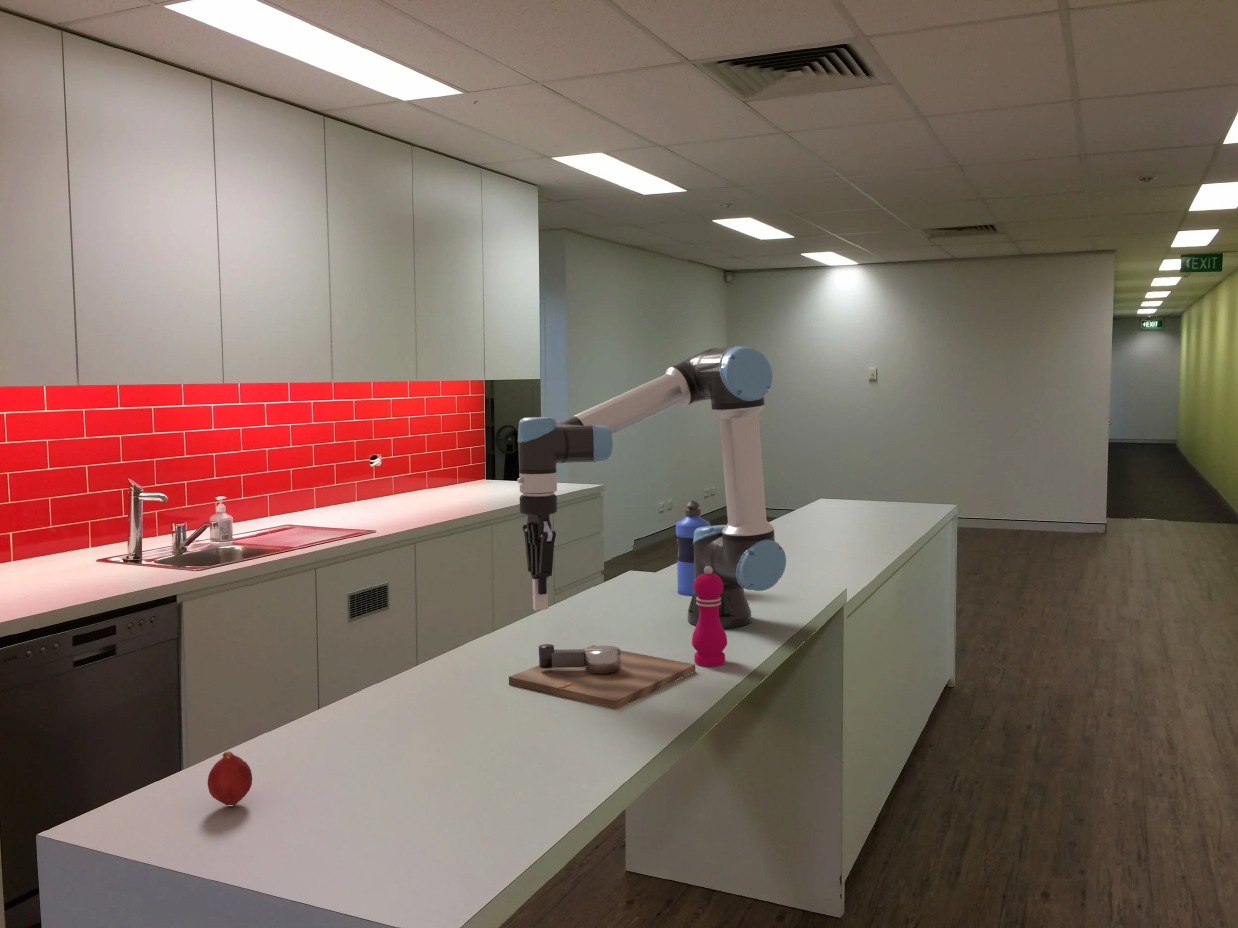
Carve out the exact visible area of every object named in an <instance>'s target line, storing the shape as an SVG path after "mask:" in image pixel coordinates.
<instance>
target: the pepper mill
mask: <svg viewBox="0 0 1238 928" xmlns="http://www.w3.org/2000/svg"><path fill="white" fill-rule="evenodd" d="M712 571H713V570H712V567H710V566H706V567H705V568H704V573H705V574H701V575H699V576H698V577H697V578H696V580H695V582H694V591H695V593H696V594H697V595H698V597H697V598H696V599H697V605H699V620H698V623H697V625H695V628H694V631H693V633H692V637H691V638H692V639H691V645H692V647H693V649H694V650H695V651H696V652H695V653H694V654H693V655H694V656H693V657H694V659H693V660H694V664H695V663H696V664H695V665H697V666H700V667H706V666H709V668H712V666H714V667H720V666H722V665H724V664H725V663H726V654H725V652H723V651H724V650H725V649H726V648H727V645H728V638H727V634H726V631H725V628H723V627H722V624H721V622H720V619H719V605H720V604H721V602H720V600H721V597H719V595H720V594H721V593H722V591H723V582H722V580H721V578H720V577H719V576H717V575H716V574H712Z"/></svg>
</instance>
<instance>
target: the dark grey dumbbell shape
mask: <svg viewBox="0 0 1238 928" xmlns="http://www.w3.org/2000/svg"><path fill="white" fill-rule="evenodd" d="M589 647H590V646H589ZM586 648H587V647H586ZM620 650H621V648H620V647H618V646H613V645H594V647H590V648H587V649H584V648H581V649H580V648H579V649H577V648H576V649H555V645H553V643H552V644H550V643H545V644H540V645H539V646H538V666H539V667H540V668H545V669H547V668H566V667H585V670H586V671H588V672H591V673H612V672H616V671H618V670H620V669H621V652H620Z"/></svg>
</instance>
